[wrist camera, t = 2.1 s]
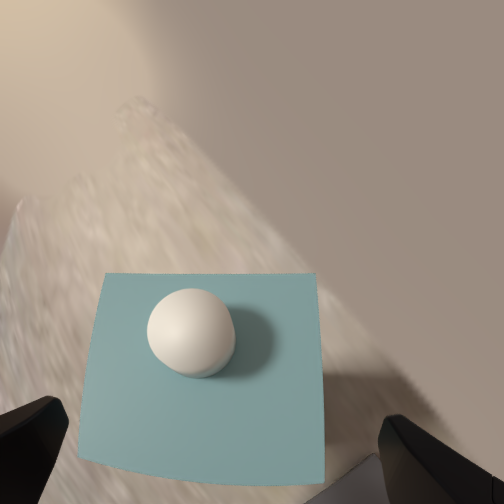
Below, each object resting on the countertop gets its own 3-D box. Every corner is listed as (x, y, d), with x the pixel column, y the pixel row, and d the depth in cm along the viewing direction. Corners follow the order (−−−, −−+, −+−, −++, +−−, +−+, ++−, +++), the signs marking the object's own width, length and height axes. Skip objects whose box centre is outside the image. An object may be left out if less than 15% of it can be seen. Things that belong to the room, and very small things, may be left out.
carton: (287, 450, 14) (335, 491, 4) (190, 447, 14) (54, 458, 4) (287, 369, 16) (322, 251, 6) (194, 367, 16) (90, 253, 6)
